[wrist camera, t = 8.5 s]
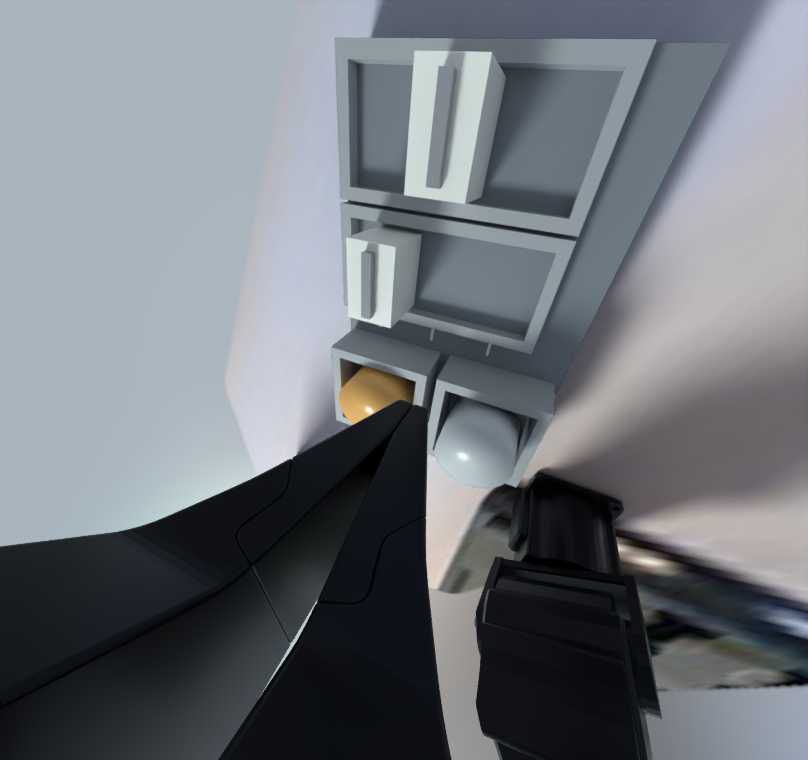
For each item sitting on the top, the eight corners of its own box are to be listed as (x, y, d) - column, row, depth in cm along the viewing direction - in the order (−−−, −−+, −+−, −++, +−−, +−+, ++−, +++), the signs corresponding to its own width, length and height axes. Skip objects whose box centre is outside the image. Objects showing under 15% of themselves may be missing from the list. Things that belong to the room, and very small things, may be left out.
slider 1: (421, 233, 16) (391, 248, 13) (414, 304, 18) (387, 331, 16) (379, 226, 17) (341, 238, 14) (376, 295, 19) (344, 319, 16)
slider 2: (505, 77, 12) (489, 48, 9) (481, 196, 14) (462, 204, 11) (444, 75, 12) (410, 47, 9) (430, 190, 15) (400, 195, 12)
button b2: (421, 366, 20) (403, 393, 18) (414, 414, 23) (397, 444, 20) (362, 348, 21) (337, 372, 19) (362, 396, 24) (340, 423, 21)
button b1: (529, 409, 17) (525, 448, 15) (507, 458, 20) (501, 498, 18) (455, 386, 19) (440, 419, 16) (443, 435, 21) (429, 470, 19)
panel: (707, 59, 11) (785, 4, 7) (526, 436, 23) (521, 489, 19) (366, 53, 15) (300, 14, 11) (363, 383, 27) (332, 418, 23)
